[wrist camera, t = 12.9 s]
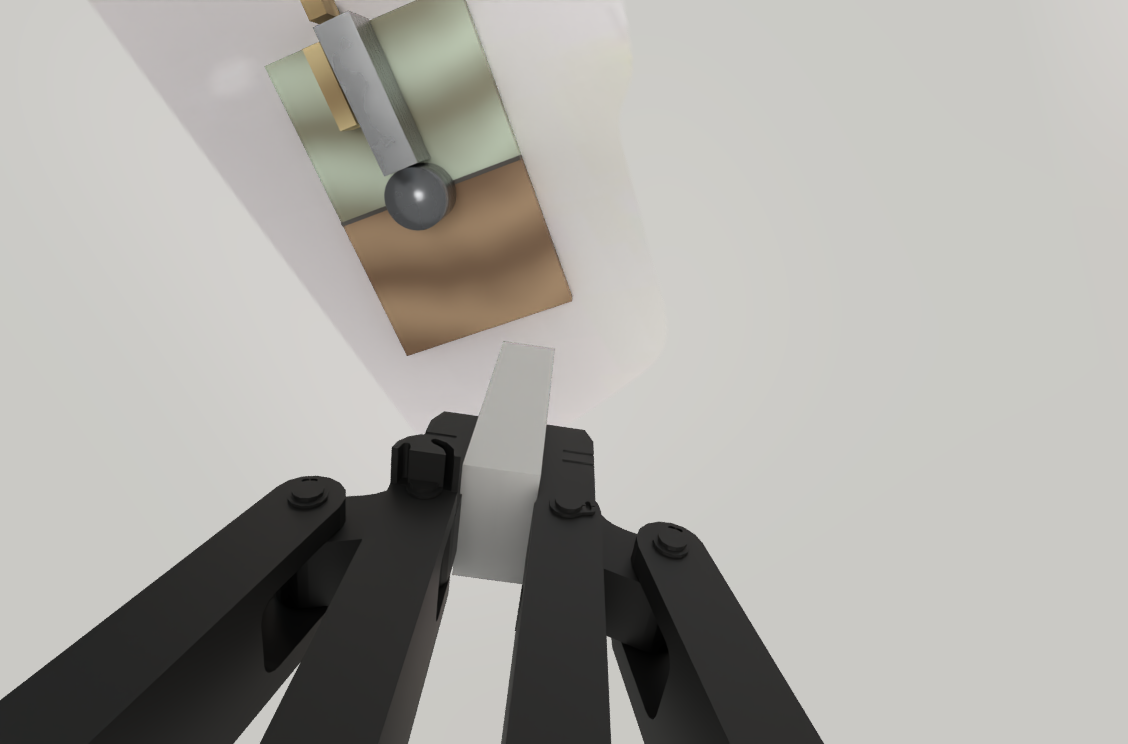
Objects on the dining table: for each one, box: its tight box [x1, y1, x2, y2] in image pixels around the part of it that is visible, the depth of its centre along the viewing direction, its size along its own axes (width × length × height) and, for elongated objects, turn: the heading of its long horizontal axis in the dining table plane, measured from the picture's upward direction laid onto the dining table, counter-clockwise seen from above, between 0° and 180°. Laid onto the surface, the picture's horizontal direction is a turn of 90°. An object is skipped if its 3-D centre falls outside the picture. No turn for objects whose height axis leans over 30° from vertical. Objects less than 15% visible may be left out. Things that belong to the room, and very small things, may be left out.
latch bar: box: [313, 11, 456, 231], centre depth 39 cm, size 13×4×4 cm, turn 21°
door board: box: [265, 0, 572, 356], centre depth 42 cm, size 24×14×4 cm, turn 20°
